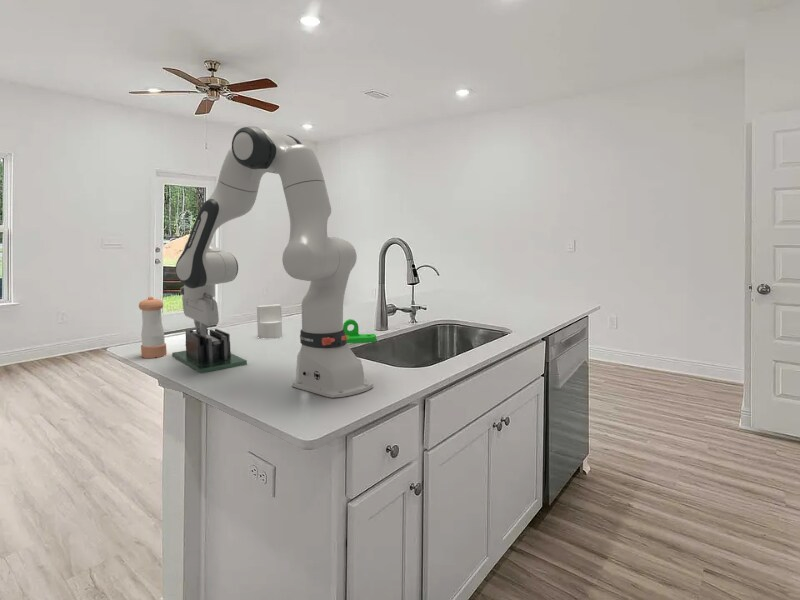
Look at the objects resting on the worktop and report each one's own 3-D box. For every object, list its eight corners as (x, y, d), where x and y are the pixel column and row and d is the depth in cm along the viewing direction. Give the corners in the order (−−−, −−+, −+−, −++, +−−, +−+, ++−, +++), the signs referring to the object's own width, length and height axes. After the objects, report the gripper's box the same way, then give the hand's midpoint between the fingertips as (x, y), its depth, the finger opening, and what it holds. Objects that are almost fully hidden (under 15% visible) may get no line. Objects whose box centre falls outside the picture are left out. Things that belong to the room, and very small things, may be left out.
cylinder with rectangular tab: (277, 332, 194) (276, 303, 192) (285, 337, 186) (284, 306, 185) (254, 335, 189) (254, 304, 187) (261, 339, 182) (260, 308, 180)
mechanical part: (345, 344, 178) (345, 322, 176) (343, 340, 183) (342, 319, 182) (377, 342, 181) (377, 321, 179) (374, 338, 186) (374, 318, 185)
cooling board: (246, 364, 149) (245, 336, 148) (200, 373, 140) (199, 343, 138) (215, 349, 167) (214, 324, 165) (172, 356, 157) (170, 330, 156)
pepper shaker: (143, 353, 160) (139, 295, 157) (167, 351, 163) (164, 294, 160) (140, 359, 154) (135, 298, 151) (165, 357, 156) (162, 297, 153)
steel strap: (222, 345, 148) (222, 340, 147) (212, 346, 146) (212, 342, 145) (200, 333, 161) (200, 329, 160) (190, 334, 159) (190, 330, 158)
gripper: (223, 294, 148) (224, 339, 150) (198, 286, 163) (199, 327, 165) (202, 296, 144) (203, 342, 146) (178, 288, 158) (180, 329, 161)
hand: (201, 334), depth 155 cm, fingers closed on steel strap
